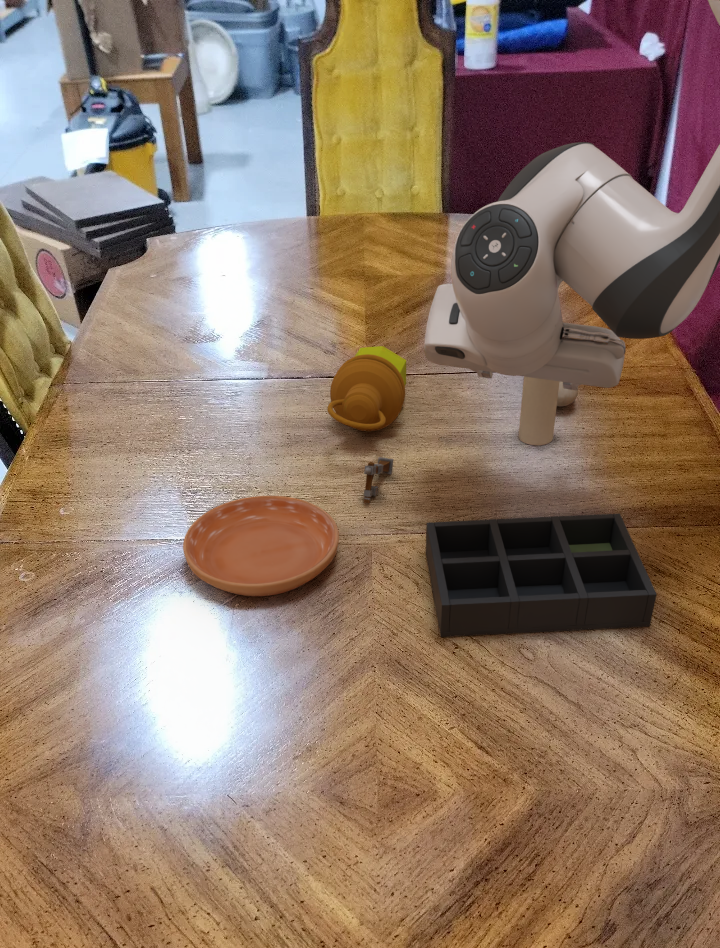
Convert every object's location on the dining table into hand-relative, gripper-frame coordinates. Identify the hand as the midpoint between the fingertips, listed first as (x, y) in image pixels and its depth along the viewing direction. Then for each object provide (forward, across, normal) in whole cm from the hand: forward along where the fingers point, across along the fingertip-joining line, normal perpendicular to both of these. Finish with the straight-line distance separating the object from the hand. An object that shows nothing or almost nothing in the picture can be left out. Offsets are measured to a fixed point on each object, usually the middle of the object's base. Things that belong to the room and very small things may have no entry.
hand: (529, 376), depth 108 cm
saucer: (-10, +21, +27) cm, 36 cm away
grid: (-7, -6, +24) cm, 25 cm away
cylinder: (+14, 0, +2) cm, 14 cm away
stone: (+23, +1, -6) cm, 23 cm away
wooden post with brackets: (+2, +14, +15) cm, 21 cm away
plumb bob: (+13, +21, +4) cm, 25 cm away
